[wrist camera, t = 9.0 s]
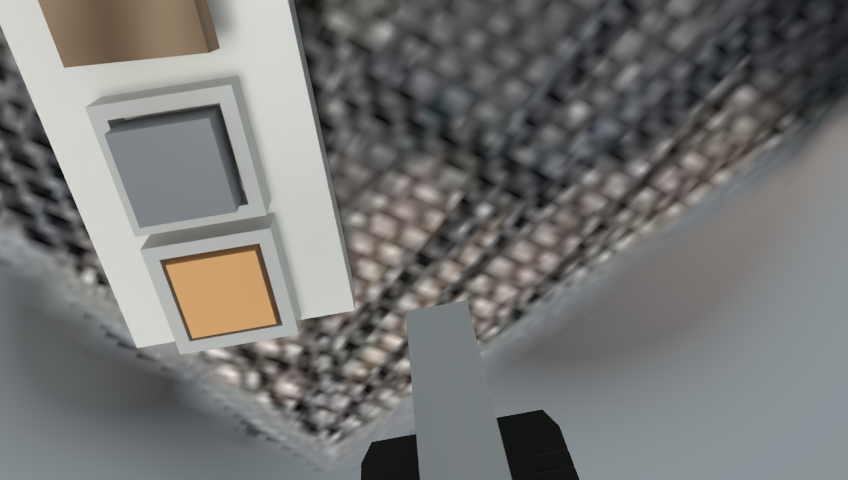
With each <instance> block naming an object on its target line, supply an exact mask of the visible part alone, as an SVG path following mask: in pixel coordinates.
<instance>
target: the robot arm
mask: <svg viewBox="0 0 848 480" xmlns="http://www.w3.org/2000/svg"><path fill="white" fill-rule="evenodd" d="M406 320H407V332H408V344H409V356H410V367H411V379H412V391H413V403H414V415H415V427H416V434H415V435H409V436H403V437H398V438H392V439H387V440H381V441H376V442H372V443H371V445H370V447H369V449H368V451H367V453H366V455H365V457H364V459H363V462H362V463H361V480H579V477H578V475H577V472H576V469H575V468H574V464H573V462H572V459H571V456H570V453H569V451H568V449H567V446H566V443H565V440H564V438H563V435H562V432H561V430H560V427H559V426H558V424H556V423H555V422H554V421H553V420H552V419H551V418H550V417H549V416H548V415H547V414H546V413H545V412H544V411H543V410H538V411H532V412H527V413H521V414H516V415H510V416H505V417H499V418H496V415H495V411H494V407H493V403H492V399H491V395H490V391H489V387H488V383H487V379H486V375H485V371H484V368H483V364H482V360H481V356H480V352H479V348H478V344H477V340H476V336H475V332H474V328H473V324H472V320H471V316H470V312H469V308H468V305H467V301H466V300H465V301H460V302H455V303H449V304H444V305H438V306H433V307H427V308H422V309H417V310H411V311H406Z"/></svg>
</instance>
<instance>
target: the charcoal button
mask: <svg viewBox="0 0 848 480" xmlns="http://www.w3.org/2000/svg"><path fill="white" fill-rule="evenodd" d="M104 135H105V138H106V141H107V143H108V146H109V148H110V151H111V154H112V156H113V159H114V162H115V164H116V167H117V170H118V172H119V175H120V178H121V180H122V183H123V185H124V188H125V191H126V193H127V196H128V199H129V201H130V204H131V207H132V209H133V212H134V214H135V217H136V220H137V222H138V225H139V228H143V227H149V226H155V225H161V224H167V223H173V222H179V221H185V220H191V219H198V218H204V217H210V216H216V215H222V214H228V213H234V212H237V210H238V208H239V205H240V203H241V200H242V198H243V195H244V194H243V191H242V187H241V184H240V180H239V177H238V173H237V170H236V166H235V163H234V159H233V156H232V152H231V149H230V145H229V142H228V138H227V135H226V131H225V128H224V124H223V121H222V117H221V114H220V110H219V107H218V106H214V107H208V108H201V109H195V110H189V111H182V112H176V113H170V114H163V115H157V116H151V117H144V118H138V119H132V120H125V121H120V122H119V123H118V124H117V125H115V126H114V127H113V128H112V129H110V130H109V131H108V132H107V133H106V134H104Z"/></svg>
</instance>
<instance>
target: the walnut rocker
mask: <svg viewBox="0 0 848 480" xmlns="http://www.w3.org/2000/svg"><path fill="white" fill-rule="evenodd" d="M38 2H39V5H40V7H41V10H42V12H43V15H44V17H45V20H46V23H47V25H48V28H49V30H50V33H51V35H52V38H53V41H54V43H55V46H56V48H57V51H58V53H59V56H60V59H61V61H62V64H63V66H64V68H66V67H76V66H86V65H96V64H105V63H115V62H125V61H134V60H144V59H154V58H164V57H173V56H183V55H193V54H202V53H210V52H212V51H215V50H217V49H220V47H219V43H218V39H217V36H216V32H215V28H214V25H213V21H212V17H211V14H210V10H209V6H208V3H207V0H38Z"/></svg>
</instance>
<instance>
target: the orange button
mask: <svg viewBox="0 0 848 480" xmlns="http://www.w3.org/2000/svg"><path fill="white" fill-rule="evenodd" d="M166 268H167V271H168V274H169V276H170V279H171V282H172V285H173V287H174V290H175V293H176V295H177V298H178V301H179V304H180V306H181V309H182V312H183V314H184V317H185V320H186V323H187V325H188V328H189V331H190V333H191V336H192V338H198V337H204V336H210V335H216V334H221V333H227V332H233V331H239V330H244V329H250V328H256V327H262V326H268V325H273V324H276V323H277V318H278V312H279V310H278V307H277V303H276V300H275V296H274V292H273V289H272V285H271V282H270V278H269V275H268V271H267V268H266V264H265V261H264V257H263V254H262V250H261V247H260V243H259V244H253V245H247V246H241V247H235V248H229V249H223V250H217V251H211V252H205V253H199V254H193V255H187V256H181V257H175V258H169V260H168V262H167V264H166Z"/></svg>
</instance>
